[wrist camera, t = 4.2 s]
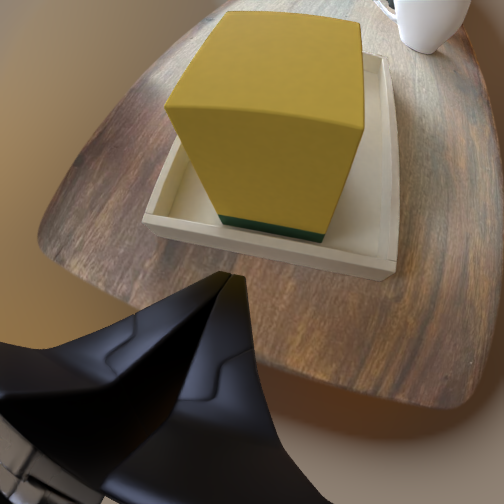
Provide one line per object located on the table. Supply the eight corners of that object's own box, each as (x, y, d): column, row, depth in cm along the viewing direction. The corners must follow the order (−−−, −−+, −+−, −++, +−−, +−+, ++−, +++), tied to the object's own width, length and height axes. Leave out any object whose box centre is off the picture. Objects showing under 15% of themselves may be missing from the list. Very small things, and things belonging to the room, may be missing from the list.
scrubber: (321, 244, 16) (364, 129, 7) (221, 224, 17) (162, 106, 8) (334, 148, 18) (360, 22, 9) (249, 134, 19) (226, 10, 10)
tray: (380, 282, 16) (396, 272, 13) (157, 236, 18) (140, 222, 16) (382, 76, 21) (388, 56, 18) (234, 55, 23) (230, 35, 21)
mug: (442, 42, 23) (463, -22, 12) (452, 74, 21) (484, -1, 10) (356, 13, 25) (363, -57, 14) (351, 38, 23) (361, -49, 12)
